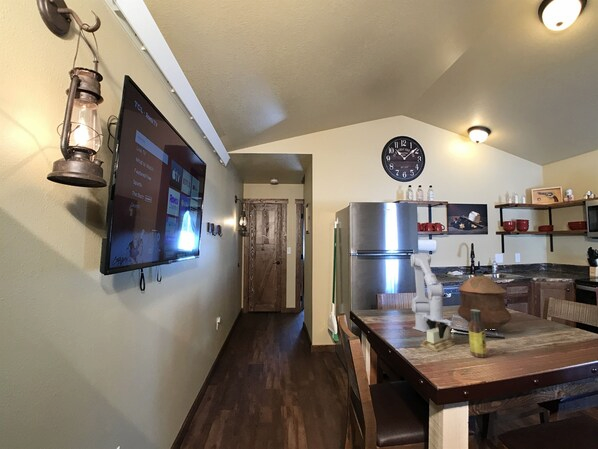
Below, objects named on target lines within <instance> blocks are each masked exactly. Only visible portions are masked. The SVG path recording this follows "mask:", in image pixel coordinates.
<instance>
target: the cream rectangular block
mask: <svg viewBox="0 0 598 449" xmlns="http://www.w3.org/2000/svg"><path fill="white" fill-rule="evenodd" d="M448 333H449V332H448V327H447V328H446V330H445V332H444V337H443V338H442V339H441V338H440V336H439V329H438V326H436V328H434V329H431V330H427V332H426V340H427V341H428V342H431V343H437V342H440V341H442V340H449V339H448V338H449V334H448Z"/></svg>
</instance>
